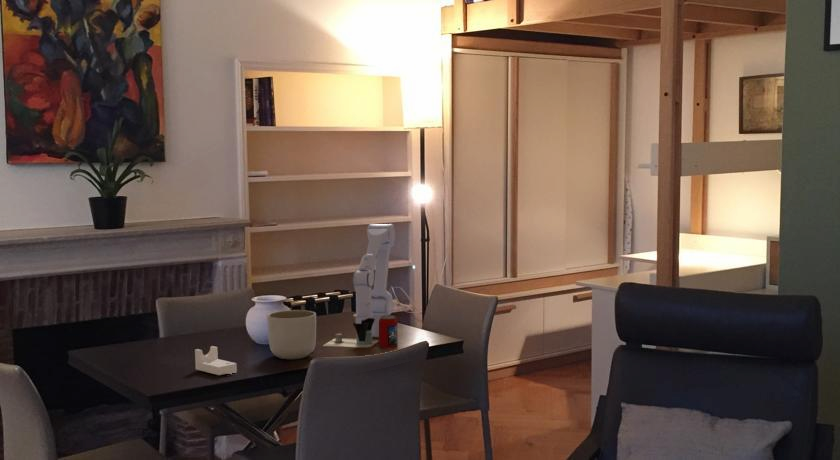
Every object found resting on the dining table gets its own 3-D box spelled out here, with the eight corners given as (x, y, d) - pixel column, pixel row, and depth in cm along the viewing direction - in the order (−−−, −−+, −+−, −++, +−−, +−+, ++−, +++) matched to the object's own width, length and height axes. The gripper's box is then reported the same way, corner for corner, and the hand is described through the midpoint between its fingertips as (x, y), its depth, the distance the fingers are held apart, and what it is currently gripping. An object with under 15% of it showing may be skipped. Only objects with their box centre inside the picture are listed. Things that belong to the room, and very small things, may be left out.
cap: (359, 341, 355) (359, 329, 355) (373, 342, 354) (373, 330, 354) (355, 344, 350) (354, 332, 350) (369, 345, 349) (369, 332, 348)
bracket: (195, 372, 317) (195, 349, 316) (213, 368, 322) (212, 346, 321) (218, 378, 308) (218, 355, 307) (236, 374, 313) (236, 351, 312)
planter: (280, 364, 325) (279, 320, 324) (260, 355, 339) (259, 313, 338) (325, 357, 334) (324, 315, 333) (304, 349, 348) (303, 308, 347)
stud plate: (334, 341, 362) (334, 330, 362) (380, 343, 358) (380, 332, 358) (322, 348, 349) (322, 337, 348) (369, 350, 344) (369, 339, 344)
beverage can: (395, 351, 343) (394, 318, 342) (377, 350, 344) (376, 318, 343) (399, 347, 349) (399, 315, 348) (381, 347, 351) (381, 314, 350)
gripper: (359, 299, 359) (360, 335, 360) (347, 306, 345) (348, 343, 346) (377, 300, 357) (378, 335, 358) (365, 306, 343) (366, 343, 344)
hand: (364, 339), depth 352 cm, fingers closed on cap, 5 cm apart
